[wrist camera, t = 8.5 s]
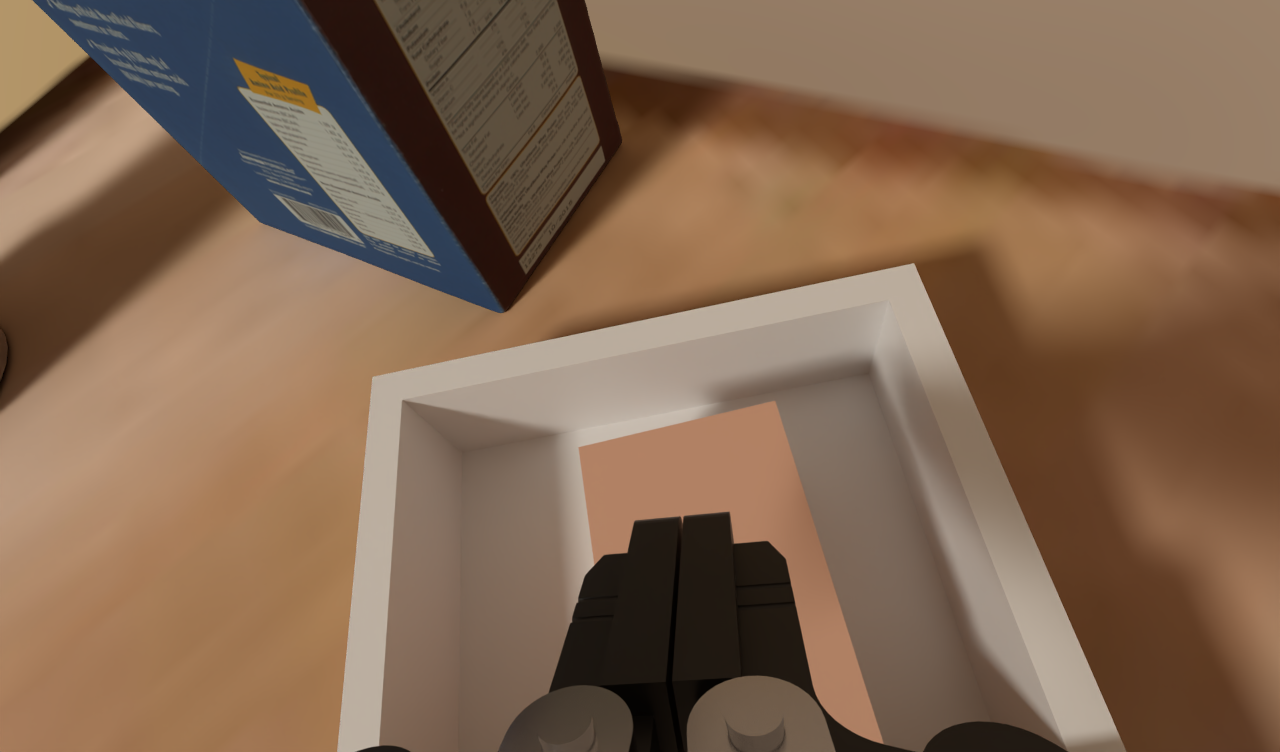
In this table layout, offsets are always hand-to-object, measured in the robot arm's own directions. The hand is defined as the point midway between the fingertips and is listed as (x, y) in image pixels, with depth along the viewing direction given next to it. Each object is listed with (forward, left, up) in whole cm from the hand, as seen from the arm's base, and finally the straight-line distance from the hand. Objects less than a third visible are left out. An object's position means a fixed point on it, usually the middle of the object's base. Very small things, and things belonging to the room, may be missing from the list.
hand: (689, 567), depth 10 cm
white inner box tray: (-1, +2, -10) cm, 10 cm away
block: (0, -4, -7) cm, 8 cm away
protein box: (-10, +22, -10) cm, 26 cm away
